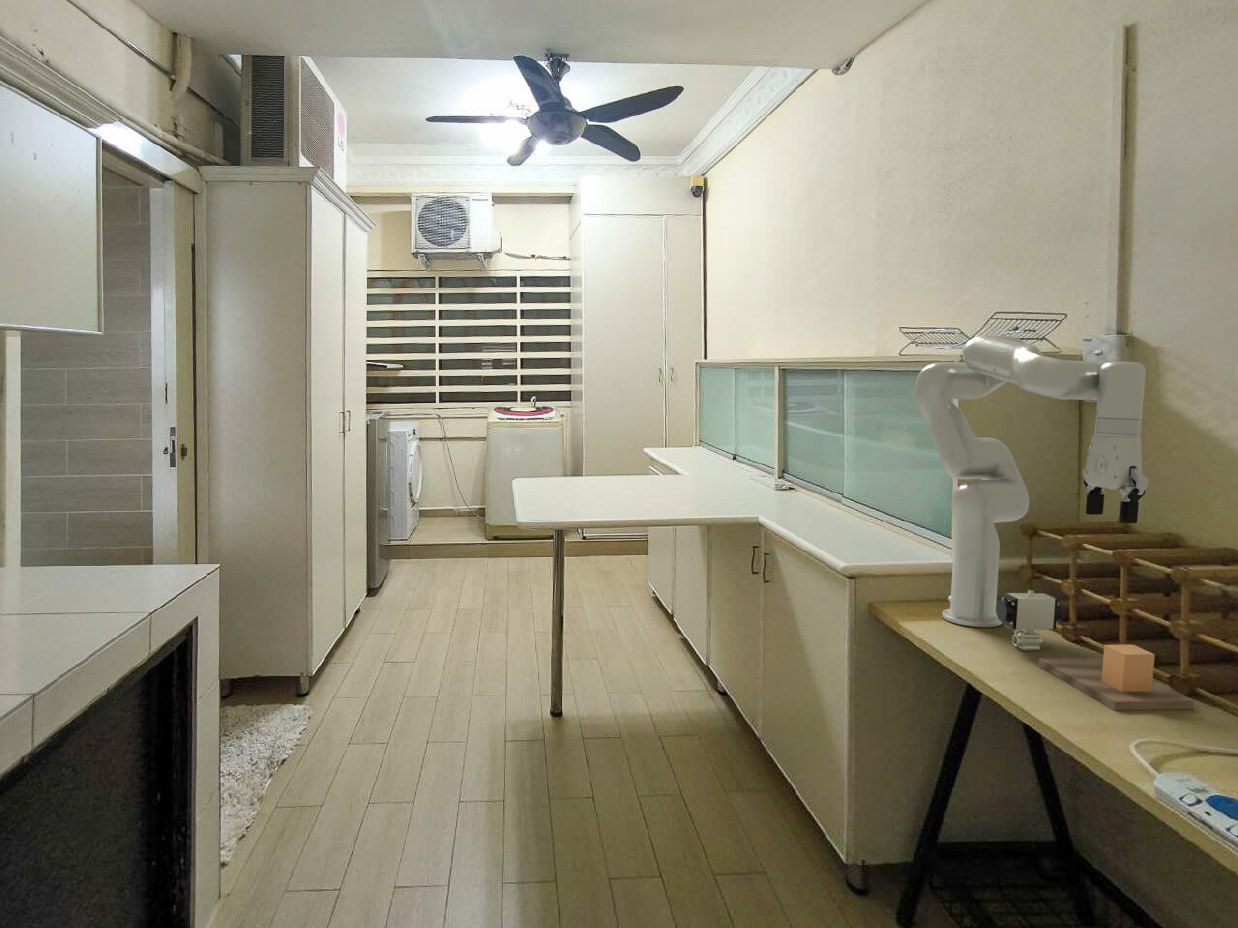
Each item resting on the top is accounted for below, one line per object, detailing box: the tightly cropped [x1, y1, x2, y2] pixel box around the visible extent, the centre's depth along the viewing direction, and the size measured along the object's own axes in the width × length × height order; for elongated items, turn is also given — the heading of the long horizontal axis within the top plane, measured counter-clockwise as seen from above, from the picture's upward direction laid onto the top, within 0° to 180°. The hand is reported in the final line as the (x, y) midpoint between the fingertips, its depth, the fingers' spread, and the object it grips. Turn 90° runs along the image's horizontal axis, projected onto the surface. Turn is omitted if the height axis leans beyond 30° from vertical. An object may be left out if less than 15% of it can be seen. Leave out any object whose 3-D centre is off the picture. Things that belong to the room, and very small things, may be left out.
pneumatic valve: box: [995, 589, 1065, 652], centre depth 177 cm, size 6×12×12 cm, turn 93°
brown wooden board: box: [1037, 657, 1195, 711], centre depth 156 cm, size 22×14×6 cm, turn 6°
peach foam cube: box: [1101, 644, 1155, 692], centre depth 152 cm, size 5×5×6 cm
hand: (1110, 518), depth 166 cm, fingers open, 9 cm apart
